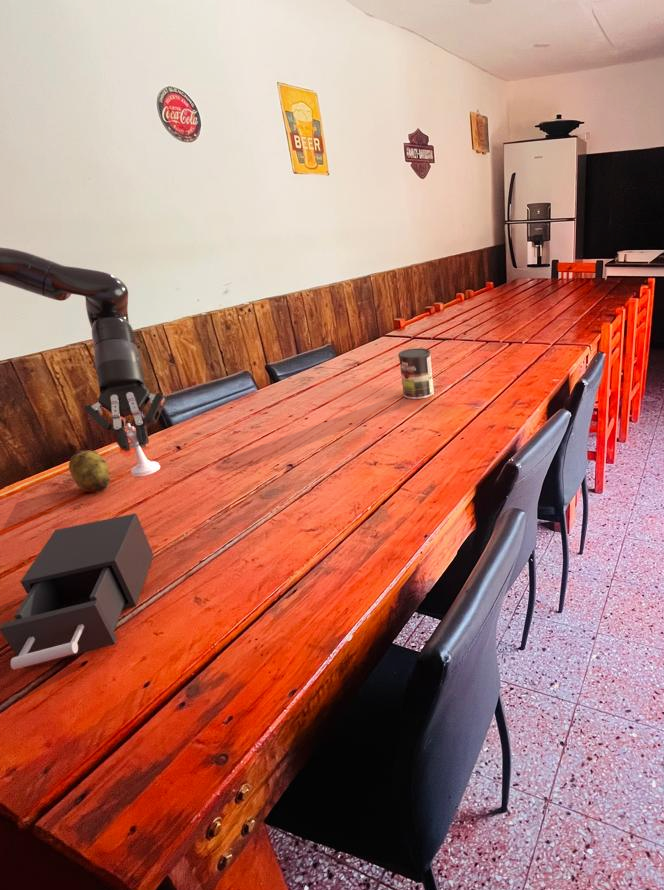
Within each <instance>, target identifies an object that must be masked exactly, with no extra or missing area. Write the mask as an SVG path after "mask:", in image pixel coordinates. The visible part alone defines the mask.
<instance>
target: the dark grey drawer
mask: <svg viewBox="0 0 664 890" xmlns="http://www.w3.org/2000/svg"><path fill="white" fill-rule="evenodd" d="M125 601H126V595H125V593H124V591H123V589H122V587H121V585H120V583H119V581H118V579H117V576H116V574H115V572H114V570H113V568H112V566H111V565H110V566H106V567H101V568H97V569H93V570H88V571H84V572H80V573H75V574H71V575H66V576H62V577H58V578H53V579H49V580H45V581H40V582H36V583H35V584H34V585H33V587H32V588H31V590H30V592H29V593H28V594H26V596H25V598H24V600H23V601H22V603H21V604H20V606H19V607H18V609H17V610H16V612H15V613H14V615H13V617H14V618H15V619H13V620H9V621H5V622H3V623H2V624H1V625H0V632H1V635H2V636H3V637H4V639H5V640H6V642H7V643H8V644H9V647H10V648H11V650H12V651H13V652H14V654H15V656H13V657H12V658H11V659H10V668H11V669H12V670H19V669H23V668H24V669H29V668H32V667H33V668H34V667H36V666H39V665H40V666H41V665H43V664H47V663H51V662H55V661H58V660H62V659H67V658H69V657H73V656H76V655H81V654H84V653H89V652H92V651H95V650H100V649H103V648H107V647H110V646H113V645H116V643H117V640H118V638H117V636H116V634H115V629H116V627H117V624H118V621H119V619H120V617H121V613H122V611H123V609H122V608H123V606H124V603H125Z"/></svg>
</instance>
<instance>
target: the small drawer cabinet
mask: <svg viewBox="0 0 664 890" xmlns="http://www.w3.org/2000/svg"><path fill="white" fill-rule="evenodd" d="M153 559H154V553H153V550H152V548H151V545H150V542H149V541H148V538H147V536H146V533H145V531H144V528H143V526H142V524H141V522H140V519H139V517H138V514H137V513H131V514H127V515H121V516H116V517H111V518H106V519H102V520H97V521H92V522H87V523H83V524H77V525H73V526H72V525H71V526H68V527H63V528H58V529H55V530H54V531H53V533H52V534H51V536H50V537H49V538H48V540H47V541H46V543H45V544H44V546H43V548H42V549H41V550H40V552H39V554H38V555H37V556H36V557H35V559H34V561H33V562H32V564H31V565H30V566H29V568H28V569H27V571H26V573H25V574H24V575H23V577H22V579H21V580H20V584H21V586H22V587H23V589H24V591H25V593H26V595H28V593H29V592H30V590H31V588H32V587H33V585H34V584H35V583H36V582H40V581H45V580H49V579H53V578H58V577H62V576H66V575H71V574H75V573H80V572H84V571H88V570H93V569H97V568H101V567H106V566H110V565H111V566H112V568H113V570H114V572H115V574H116V576H117V579H118V581H119V583H120V585H121V587H122V589H123V591H124V593H125V595H126V601H125V603H124V606H123V608H122V610H126V609H130V608H134V607H137V605H138V602H139V599H140V596H141V593H142V591H143V587H144V585H145V581H146V579H147V576H148V574H149V571H150V567H151V564H152V561H153Z"/></svg>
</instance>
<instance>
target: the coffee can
mask: <svg viewBox="0 0 664 890" xmlns="http://www.w3.org/2000/svg"><path fill="white" fill-rule="evenodd" d="M397 356H398V359H399V367H400V375H401V383H402V392H403V397H404V398H405V399H408V400H423V399H428V398H429V397H432V396H434V394H435V391H434V382H433V381H434V380H433V379H434V378H433V371H432V358H431V350H429V349H427V348H421V347H419V348H407V349H404V350H401V351H400V352H399V353H398V355H397Z"/></svg>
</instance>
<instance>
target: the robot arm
mask: <svg viewBox="0 0 664 890" xmlns="http://www.w3.org/2000/svg"><path fill="white" fill-rule="evenodd" d="M0 283H2V284H6V285H9V286H12V287H15V288H17V289H21V290H24V291H26V292H30V293H32V294H36V295H38V296H42V297H45V298H48V299H50V300H54V301H59V302H62V301H66V300H68V299H69V298H70V297H71V295H77V296H81V297H84V298H85V310H86V314H87V318H88V322H89V325H90V328H91V339H92V345H93V350H94V352H93V353H94V354H93V357H94V358H93V359H94V360H93V361H94V369H95V371H96V378H97V383H98V389H99V396H98V398H97V402H95V403H93V404H92V405H90V404H89V405H88V404H86V405H85V406H84V407H83V410H84V411H85V412H86V413H87V414H88V415H89V416H90V417H91V418H92V419H93V420H94V421H95V422H96V424H98V425H99V426H100V428H102V429H103V431H105V432H106V433H107V434H115V437H116V442H117V445H118V447H119V448H120V449H122V450H124V452H129V451H131V447H130V440H129V438H128V437H127V436H126V433H127V432H126V429H125V426H126V424H127V423H126V420H127V419H126V417H128V416H132V417H133V420H134V423H135V425H136V426H134V428H135V431H136V434H137V439H138V444H139V446H140V447H141V449H144V448H146V447H147V445H148V444H149V443H150V439H149V434H148V428H149V427H151V426H155V425H157V423H158V421H159V418H160V416H161V414H162V411H163V410H164V407H165V405H166V402H167V400H166V398H165V397H164V395H163V393H162V392H158V393H151V392H150V391H149V389H148V388H147V382H146V379H145V374H144V368H143V364H142V359H141V355H140V351H139V350H138V346H137V340H136V336H135V332H134V329H133V327H132V325H131V324H130V320H129V312H128V311H129V310H128V308H129V306H128V304H129V290H128V287H127V285H126V284H125V282H123V281H122V280H121V279H120V278H118V277H116V276H114V275H113V274H111V273H108V272H105V271H100V270H96V269H89V268H82V267H78V266H77V267H76V266H67V265H64V264H61V263H58V262H55V261H54V260H53V261H52V260H50V259H47V258H44V257H42V256H39V255H36V254H33V253H30V252H26V251H23V250H20V249H14V248H8V247H1V246H0ZM149 402H150V407H149V409H148V411H147V413H146V416H144V412H143V411H144V410H145V407H146V406H147V404H148V403H149ZM103 409H105V410H107V412H108V413H111V417H112V423H109V422H108V421H107V420H106V419H105V418H104V417H103V413H104V412H103Z"/></svg>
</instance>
